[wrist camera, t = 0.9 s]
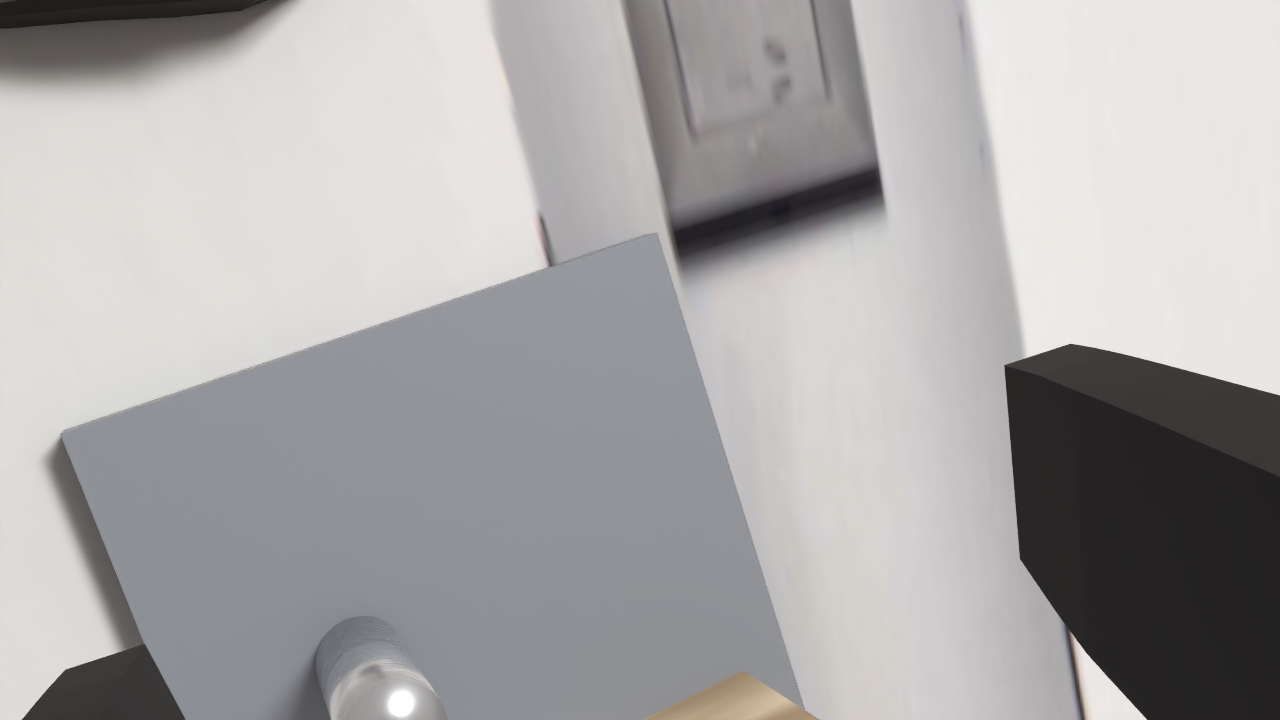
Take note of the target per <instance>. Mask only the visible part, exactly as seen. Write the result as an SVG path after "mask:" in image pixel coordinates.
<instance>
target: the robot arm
mask: <svg viewBox="0 0 1280 720" xmlns="http://www.w3.org/2000/svg"><path fill="white" fill-rule="evenodd" d="M1004 366H1005V378H1006V391H1007V403H1008V415H1009V428H1010V440H1011V452H1012V465H1013V477H1014V489H1015V502H1016V514H1017V527H1018V539H1019V551H1020V560H1021V561H1022V562H1023V564H1024V565H1025V567H1026V568H1027V570H1028V571H1029V573H1030V574H1031V576H1032V577H1033V579H1034V580H1035V582H1036V583H1037V584H1038V586H1039V587H1040V589H1041V590H1042V592H1043V593H1044V595H1045V596H1046V598H1047V599H1048V601H1049V602H1050V603H1051V605H1052V606H1053V608H1054V609H1055V611H1056V612H1057V613H1058V615H1059V616H1060V618H1061V619H1062V620H1063V622H1064V623H1065V624H1066V626H1067V627H1068V629H1069V630H1070V631H1071V633H1072V634H1073V635H1074V637H1075V638H1076V639H1077V641H1078V642H1079V644H1080V645H1081V646H1082V648H1083V649H1084V650H1085V652H1086V653H1087V654H1088V655H1089V656H1090V657H1091V659H1092V660H1093V661H1094V662H1095V663H1096V664H1097V665H1098V666H1099V667H1100V669H1101V670H1102V671H1103V672H1104V673H1105V674H1106V675H1107V676H1108V677H1109V679H1110V680H1111V681H1112V682H1113V683H1114V684H1115V685H1116V686H1117V687H1118V688H1119V689H1120V691H1121V692H1122V693H1123V694H1124V695H1125V696H1126V697H1127V698H1128V699H1129V700H1130V701H1131V703H1132V704H1133V705H1134V706H1135V707H1136V708H1137V709H1138V710H1139V711H1140V712H1141V713H1142V714H1143V716H1144V717H1145V718H1146V719H1147V720H1280V396H1279V395H1276V394H1272V393H1268V392H1264V391H1261V390H1257V389H1253V388H1249V387H1246V386H1242V385H1238V384H1234V383H1231V382H1227V381H1223V380H1220V379H1216V378H1212V377H1208V376H1205V375H1201V374H1197V373H1194V372H1190V371H1186V370H1182V369H1179V368H1175V367H1171V366H1167V365H1164V364H1160V363H1156V362H1152V361H1148V360H1144V359H1140V358H1136V357H1132V356H1128V355H1124V354H1120V353H1115V352H1111V351H1106V350H1102V349H1097V348H1092V347H1086V346H1080V345H1075V344H1069V345H1066V346H1062V347H1059V348H1056V349H1053V350H1050V351H1047V352H1044V353H1041V354H1038V355H1035V356H1032V357H1029V358H1025V359H1022V360H1019V361H1016V362H1013V363H1010V364H1007V365H1004ZM22 720H186V719H185V717H184V716H183V714H182V712H181V710H180V708H179V706H178V704H177V702H176V701H175V699H174V697H173V695H172V693H171V691H170V689H169V688H168V686H167V684H166V682H165V680H164V678H163V676H162V674H161V673H160V671H159V669H158V667H157V665H156V663H155V661H154V660H153V658H152V656H151V654H150V652H149V650H148V648H147V647H146V645H145V644H144V645H140V646H137V647H134V648H131V649H128V650H125V651H122V652H119V653H116V654H113V655H110V656H107V657H103V658H100V659H97V660H94V661H91V662H88V663H85V664H82V665H79V666H76V667H73V668H70V669H66V670H65V671H64V672H63V673H62V674H61V675H60V676H59V677H58V678H57V679H56V681H55V682H54V683H53V684H52V685H51V686H50V687H49V688H48V689H47V690H46V692H45V693H44V694H43V695H42V696H41V697H40V699H39V700H38V701H37V702H36V703H35V705H34V706H33V707H32V708H31V709H30V711H29V712H28V713H27V714H26V716H25V717H24V718H23V719H22Z"/></svg>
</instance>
